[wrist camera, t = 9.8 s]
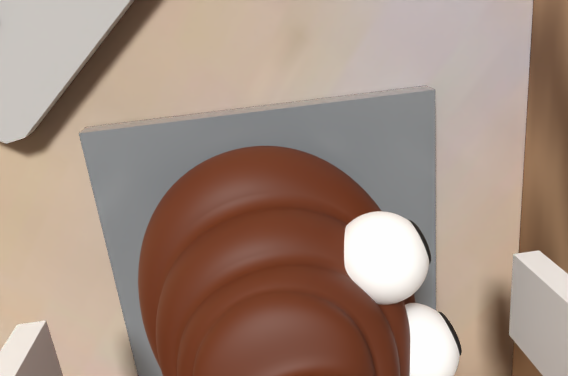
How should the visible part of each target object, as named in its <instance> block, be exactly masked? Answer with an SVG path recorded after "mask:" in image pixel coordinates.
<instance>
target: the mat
mask: <svg viewBox="0 0 568 376" xmlns="http://www.w3.org/2000/svg"><path fill="white" fill-rule="evenodd" d="M79 136H80V140H81V144H82V148H83V153H84V157H85V161H86V165H87V169H88V173H89V177H90V181H91V185H92V189H93V193H94V198H95V202H96V206H97V210H98V214H99V218H100V222H101V226H102V230H103V234H104V238H105V242H106V247H107V251H108V255H109V259H110V263H111V267H112V271H113V275H114V279H115V283H116V287H117V291H118V296H119V300H120V304H121V308H122V312H123V316H124V320H125V324H126V328H127V332H128V336H129V341H130V345H131V349H132V353H133V357H134V361H135V365H136V369H137V373H138V376H163V375H162V371H161V369H160V367H159V365H158V363H157V361H156V358H155V356H154V354H153V351H152V349H151V346H150V344H149V341H148V338H147V335H146V331H145V328H144V324H143V320H142V315H141V309H140V303H139V292H138V269H139V258H140V252H141V246H142V242H143V238H144V235H145V232H146V229H147V226H148V223H149V221H150V219H151V217H152V214H153V212H154V211H155V209H156V207H157V205H158V204H159V202H160V201H161V199H162V198H163V196H164V195H165V194H166V192H167V191H168V190H169V189H170V188H171V187H172V185H173V184H174V183H175V182H176V181H177V180H179V179H180V178H181V177H182V176H183V175H184V174H186V173H187V172H188V171H189V170H191V169H192V168H194V167H195V166H197V165H198V164H200V163H202V162H204V161H206V160H208V159H210V158H212V157H214V156H216V155H219V154H222V153H225V152H228V151H231V150H235V149H239V148H245V147H252V146H280V147H287V148H292V149H296V150H300V151H303V152H307V153H309V154H312V155H315V156H317V157H319V158H321V159H323V160H325V161H327V162H329V163H331V164H332V165H334V166H336V167H337V168H339V169H340V170H342V171H343V172H344V173H346V174H347V175H348V176H350V177H351V178H352V179H353V180H354V181H355V182H357V183H358V184H359V185H360V186H361V187H362V188H363V189H364V190H365V191H366V192H367V193H368V194H369V196H370V197H371V198H372V199H373V200H374V201H375V203H376V204H377V205H378V207H379V208H380V209H381V211H383V212H390V213H394V214H397V215H400V216H402V217H404V218H405V219H407V220H411V221H413V222H414V223H415V224H416V225H417V226H418V227H419V229H420V230H421V232H422V233H423V235H424V237H425V239H426V241H427V243H428V246H429V249H430V253H431V263H430V264H429V268H428V272H427V275H426V278H425V280H424V282H423V283H422V285H421V286H420V288H419V289H418V290H417V291H416V292H415V293H414V296H415V303H419V304H423V305H426V306H428V307H431V308H433V309H434V310H436V187H435V89H433V88H430V87H428V86H419V87H411V88H403V89H395V90H386V91H378V92H370V93H362V94H354V95H345V96H337V97H329V98H321V99H313V100H305V101H296V102H288V103H280V104H272V105H264V106H255V107H247V108H239V109H231V110H223V111H214V112H206V113H198V114H190V115H182V116H173V117H165V118H157V119H149V120H141V121H133V122H124V123H116V124H108V125H100V126H92V127H85V128H84V129H83V130H82V131H81V132H80V133H79Z"/></svg>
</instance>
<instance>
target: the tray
mask: <svg viewBox="0 0 568 376" xmlns="http://www.w3.org/2000/svg"><path fill="white" fill-rule="evenodd" d="M538 250H539V251H541V252H542V253H543V254H544V255H545V256H547V257H548V258H549V259H550V260H552V261H553V262H554V263H555V264H556V265H558V266H559V267H560V268H561V269H563V270H564V271H565V272H566V273H567V274H568V0H534V4H533V21H532V38H531V55H530V73H529V90H528V107H527V124H526V142H525V159H524V176H523V193H522V211H521V228H520V245H519V253H524V252H531V251H538ZM512 376H543V375H542V374H541V373H540V372H539V370H538V369H537V368H536V367H535V366H534V364H533V363H532V362H531V361H530V360H529V358H528V357H527V356H526V355H525V354H524V352H523V351H522V350H521V349H520V348H519V346H518V345H517V344H516V343H515V342H514V348H513V366H512Z"/></svg>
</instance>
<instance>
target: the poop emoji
mask: <svg viewBox="0 0 568 376" xmlns="http://www.w3.org/2000/svg"><path fill="white" fill-rule="evenodd" d="M430 263H431V253H430V249H429V246H428V243H427V241H426V239H425V237H424V235H423V233H422V232H421V230H420V229H419V227H418V226H417V225H416V224H415V223H414V222H413V221H411V220H407V219H405V218H404V217H402V216H400V215H397V214H394V213H390V212H383V211H381V209H380V208H379V207H378V205H377V204H376V203H375V201H374V200H373V199H372V198H371V197H370V196H369V194H368V193H367V192H366V191H365V190H364V189H363V188H362V187H361V186H360V185H359V184H358V183H357V182H355V181H354V180H353V179H352V178H351V177H350V176H348V175H347V174H346V173H344V172H343V171H342V170H340V169H339V168H337V167H336V166H334V165H332V164H331V163H329V162H327V161H325V160H323V159H321V158H319V157H317V156H315V155H312V154H309V153H307V152H303V151H300V150H296V149H292V148H287V147H280V146H252V147H245V148H239V149H235V150H231V151H228V152H225V153H222V154H219V155H216V156H214V157H212V158H210V159H208V160H206V161H204V162H202V163H200V164H198V165H197V166H195V167H194V168H192V169H191V170H189V171H188V172H187V173H186V174H184V175H183V176H182V177H181V178H180V179H179V180H177V181H176V182H175V183H174V184H173V185H172V187H171V188H170V189H169V190H168V191H167V192H166V194H165V195H164V196H163V198H162V199H161V201H160V202H159V204H158V205H157V207H156V209H155V211H154V212H153V214H152V217H151V219H150V221H149V223H148V226H147V229H146V232H145V235H144V238H143V242H142V246H141V252H140V258H139V269H138V292H139V303H140V309H141V315H142V320H143V324H144V328H145V331H146V335H147V338H148V341H149V344H150V346H151V349H152V351H153V354H154V356H155V358H156V361H157V363H158V365H159V367H160V369H161V371H162V375H163V376H454V374H455V372H456V370H457V367H458V363H459V356H460V355H461V345H460V342H459V339H458V337H457V334H456V332H455V330H454V328H453V326H452V325H451V323H450V322H449V320H448V319H447V317H446V316H445V315H444V314H443V313H441V312H437V311H436V310H434V309H433V308H431V307H428V306H426V305H423V304H419V303H415V296H414V293H415V292H416V291H417V290H418V289H419V288H420V286H421V285H422V283H423V282H424V280H425V278H426V275H427V272H428V268H429V264H430Z"/></svg>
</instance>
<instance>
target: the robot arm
mask: <svg viewBox="0 0 568 376" xmlns="http://www.w3.org/2000/svg"><path fill="white" fill-rule="evenodd" d="M509 336H510V337H511V338H512V339H513V340H514V342H515V343H516V344H517V345H518V346H519V348H520V349H521V350H522V351H523V352H524V354H525V355H526V356H527V357H528V358H529V360H530V361H531V362H532V363H533V364H534V366H535V367H536V368H537V369H538V370H539V372H540V373H541V374H542V375H543V376H568V274H567V273H566V272H565V271H564V270H563V269H561V268H560V267H559V266H558V265H556V264H555V263H554V262H553V261H552V260H550V259H549V258H548V257H547V256H545V255H544V254H543V253H542V252H541V251H539V250H538V251H531V252H524V253H517V254H513V268H512V287H511V305H510V324H509ZM0 376H63V374H62V371H61V368H60V364H59V361H58V358H57V355H56V351H55V348H54V345H53V342H52V338H51V335H50V332H49V328H48V325H47V322H46V321H39V322H32V323H24V324H17V326H16V327H15V329H14V330H13V332H12V333H11V335H10V337H9V338H8V340H7V341H6V343H5V344H4V346H3V347H2V349H1V351H0Z"/></svg>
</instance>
